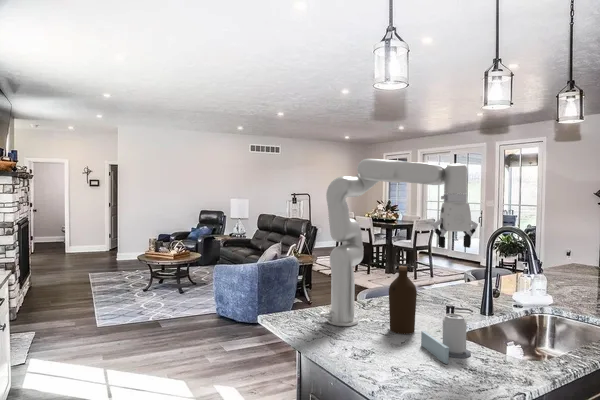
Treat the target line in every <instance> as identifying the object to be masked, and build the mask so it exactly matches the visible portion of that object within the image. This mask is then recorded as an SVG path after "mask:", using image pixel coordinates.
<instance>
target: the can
mask: <svg viewBox="0 0 600 400" xmlns="http://www.w3.org/2000/svg"><path fill="white" fill-rule="evenodd" d="M467 327H468V326H467V320H466V319H465V316H464V315H462V314H459V313H446V314H445V315H444V317H443V319H442V343H443V344H444V345H446V346H447V347H449V353H451V354H463V353H464V352H465V351H466V350H467Z"/></svg>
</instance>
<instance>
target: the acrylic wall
mask: <svg viewBox="0 0 600 400" xmlns="http://www.w3.org/2000/svg"><path fill="white" fill-rule="evenodd" d="M420 337H421V338H420V339H421V340H420V341H421V342H420V345H421V347H423V348H424V349H425V350H427V351H428V352H430V353H431V355H433V356H435V358H437V359H438V360H439V361H441V362H442V363H443V364H449V358H450V357H449V347H447V346H446V345H444V344H443V342H442V341H440V340H438V339H437V338H436V337H434V336H433V335H431V334H430V333H429V332H427V331H426V330H421V336H420Z"/></svg>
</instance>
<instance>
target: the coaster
mask: <svg viewBox="0 0 600 400" xmlns="http://www.w3.org/2000/svg"><path fill="white" fill-rule="evenodd" d="M471 355H472V353H471V351H470V350H468V349H466V351H465V352H464V353H463V354H451V353H449V358H452V359H454V358H455V359H467V358H470V357H471Z"/></svg>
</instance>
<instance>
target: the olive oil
mask: <svg viewBox="0 0 600 400" xmlns="http://www.w3.org/2000/svg"><path fill="white" fill-rule="evenodd" d="M417 292H418V291H417V287H416V285H415V284H414V282H413V281H412V280H411V279H410V277H408V266H407V265H399V266H398V276H396V278H395V279H393V281H392V282H391V283H390V285H389V288H388V309H389V310H388V311H389V313H388V314H389V330H390V331H391V332H392V333H395V334H399V335H412V334H414V333H415V329H416V327H415V326H416V309H417V297H418V296H417V295H418V293H417Z"/></svg>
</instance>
